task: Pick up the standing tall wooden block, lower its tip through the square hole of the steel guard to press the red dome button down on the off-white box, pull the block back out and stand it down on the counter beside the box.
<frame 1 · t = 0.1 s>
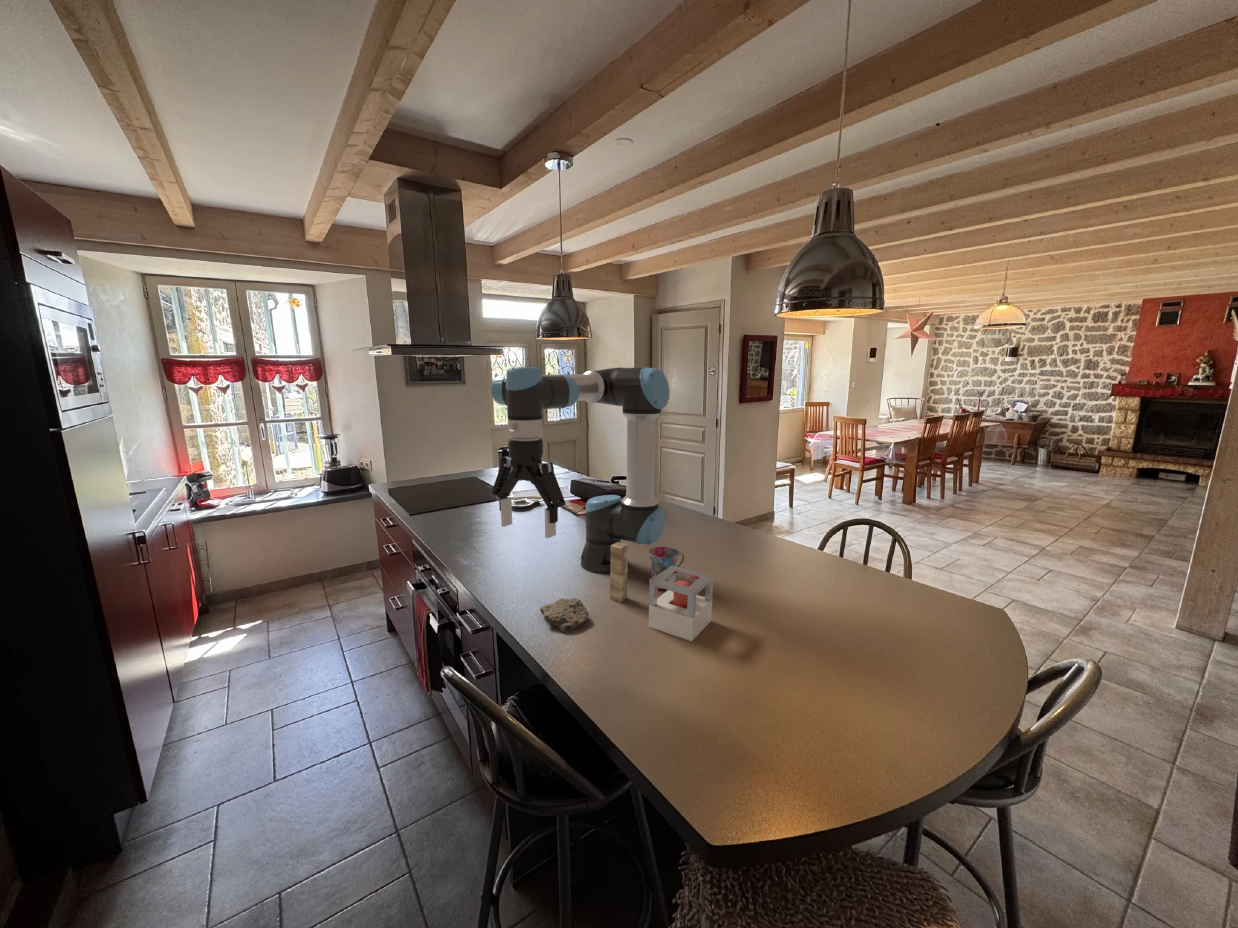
hand: (528, 530, 112), 28 cm above the kitchen island, fingers open, 13 cm apart
red dome button: (681, 597, 125), point 7 cm above the kitchen island, slide at 0.0 cm
rock: (564, 621, 128), on the kitchen island
tall wooden block: (618, 598, 140), on the kitchen island
mug: (666, 584, 150), on the kitchen island
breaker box: (680, 623, 127), on the kitchen island
guard: (681, 590, 125), on the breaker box, point 9 cm above the kitchen island
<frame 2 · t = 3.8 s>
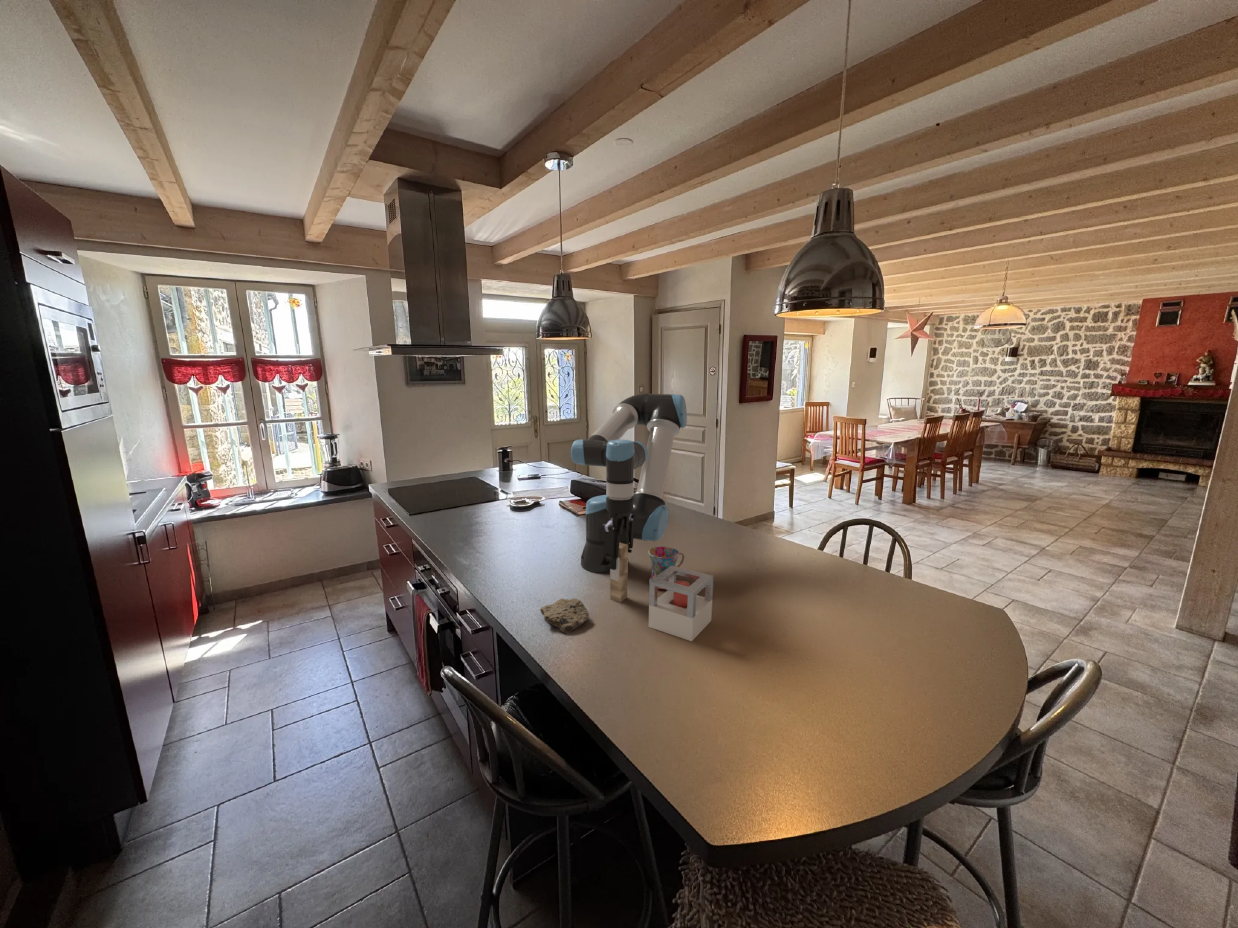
hand: (618, 576, 139), 7 cm above the kitchen island, fingers closed on tall wooden block, 3 cm apart
tall wooden block: (618, 598, 140), on the kitchen island, touching gripper
everything else where it was.
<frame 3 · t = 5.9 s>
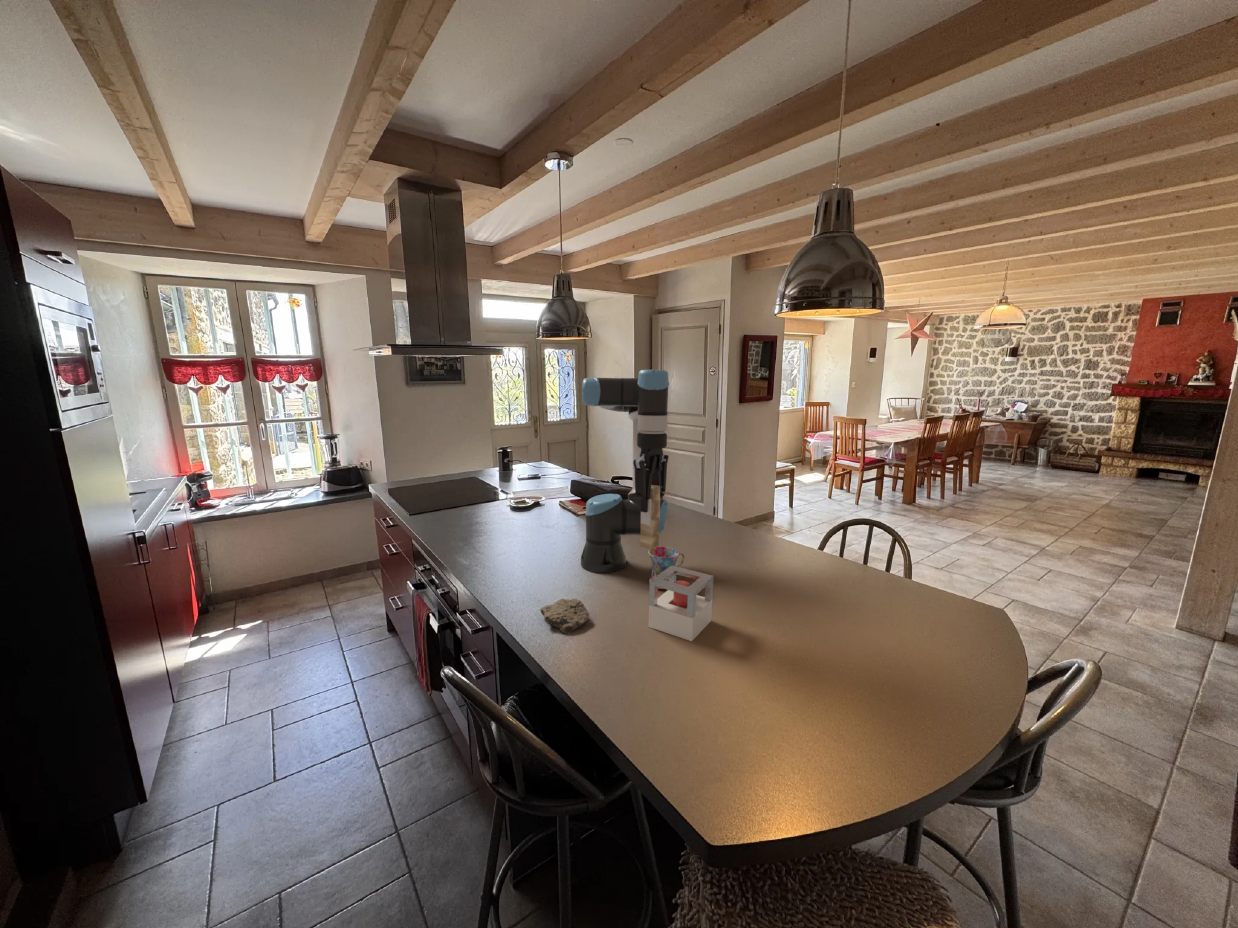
hand: (650, 521, 127), 25 cm above the kitchen island, fingers closed on tall wooden block, 3 cm apart
tall wooden block: (649, 546, 129), point 19 cm above the kitchen island, touching gripper
everything else where it was.
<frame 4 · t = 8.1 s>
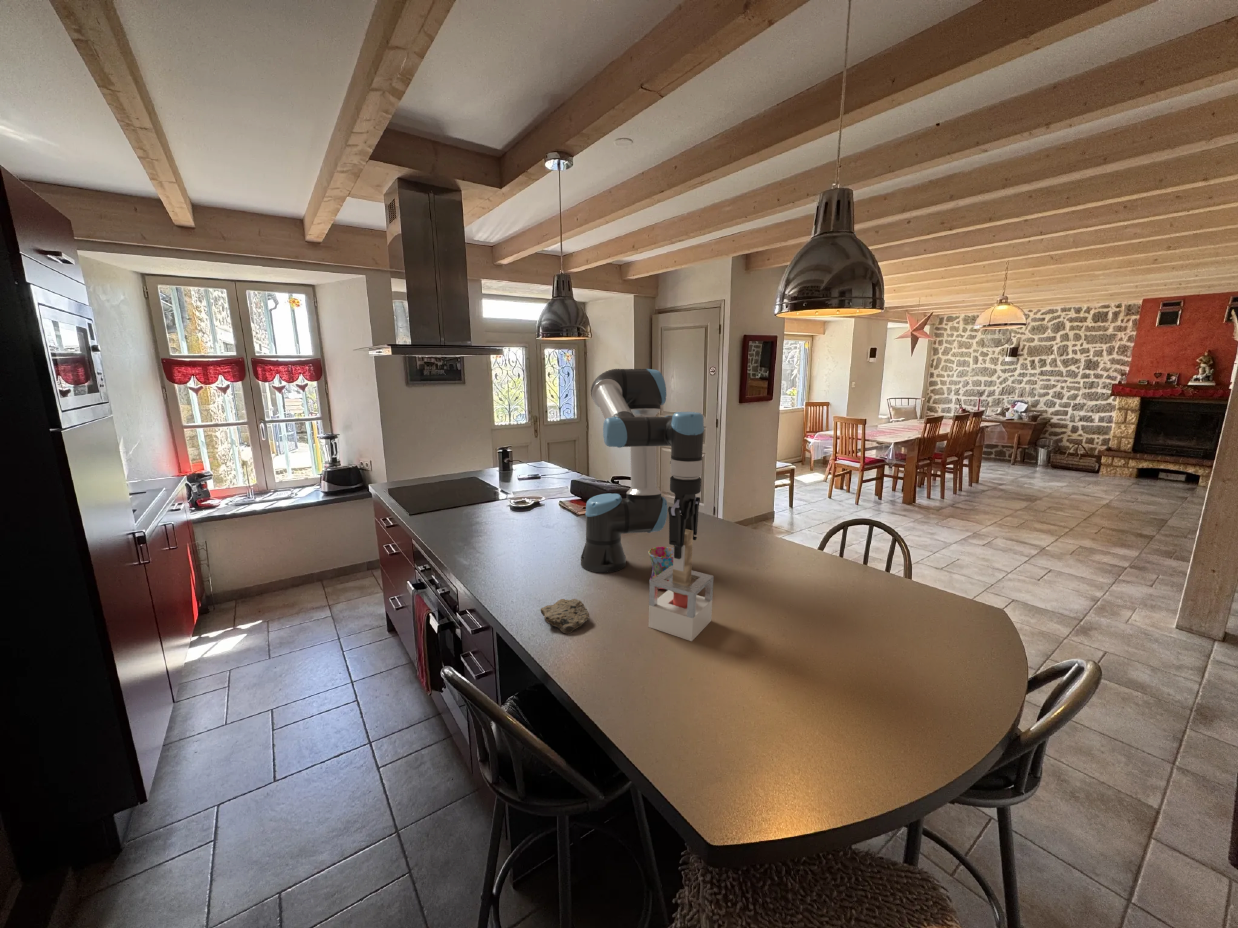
hand: (682, 566, 124), 16 cm above the kitchen island, fingers closed on tall wooden block, 3 cm apart
red dome button: (681, 604, 126), point 5 cm above the kitchen island, slide at 2.0 cm, touching tall wooden block
tall wooden block: (681, 591, 125), point 9 cm above the kitchen island, touching gripper, red dome button
everything else where it was.
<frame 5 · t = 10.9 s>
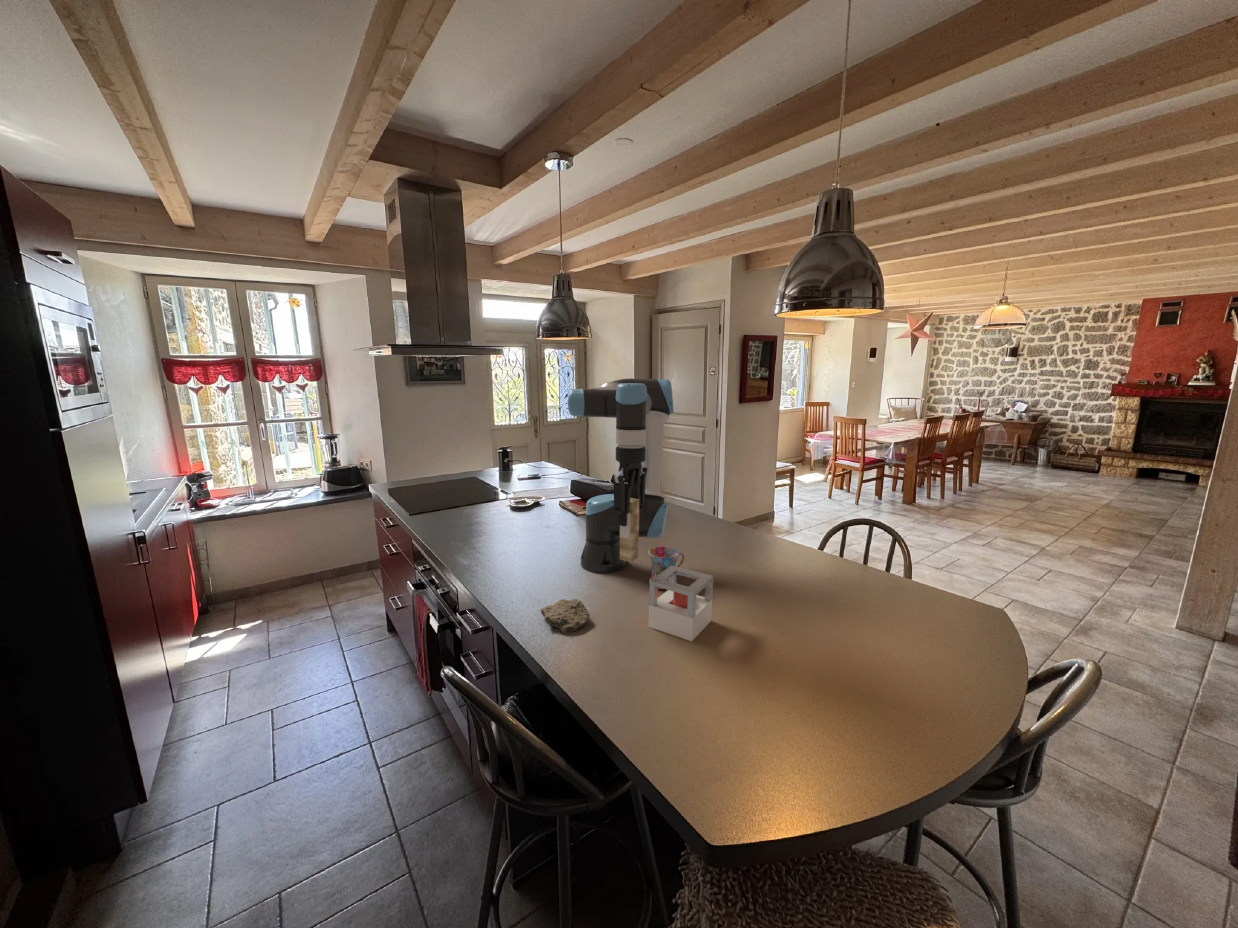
hand: (629, 534, 127), 22 cm above the kitchen island, fingers closed on tall wooden block, 3 cm apart
red dome button: (681, 604, 126), point 5 cm above the kitchen island, slide at 2.0 cm
tall wooden block: (628, 558, 129), point 16 cm above the kitchen island, touching gripper
everything else where it was.
when the fingers open (8 cm above the kitchen island, at t = 13.6 s): tall wooden block drops 1 cm, on the kitchen island.
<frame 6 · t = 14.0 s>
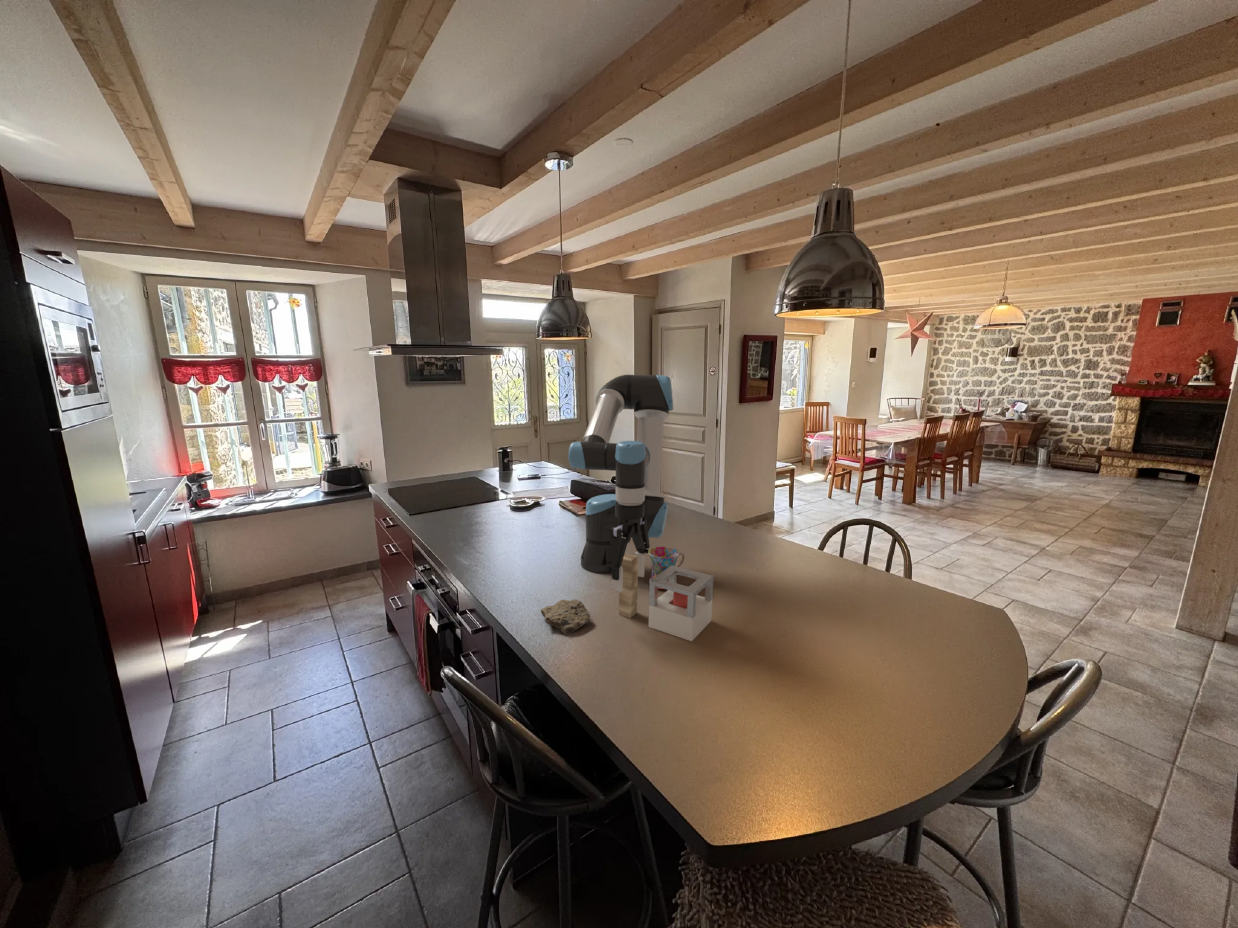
hand: (628, 582, 130), 9 cm above the kitchen island, fingers open, 10 cm apart
tall wooden block: (628, 613, 132), on the kitchen island
everything else where it was.
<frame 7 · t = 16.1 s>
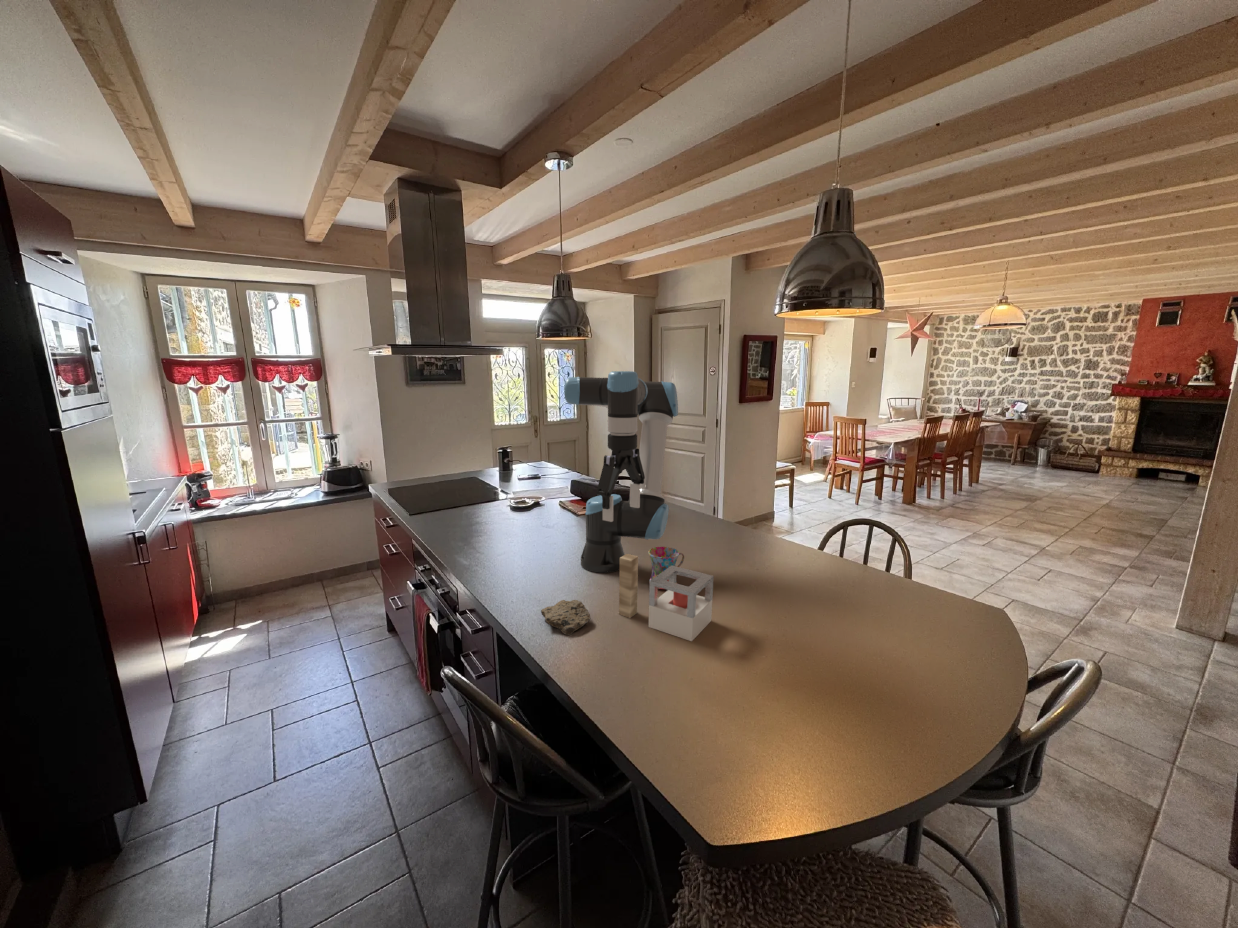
hand: (621, 513, 129), 27 cm above the kitchen island, fingers open, 13 cm apart
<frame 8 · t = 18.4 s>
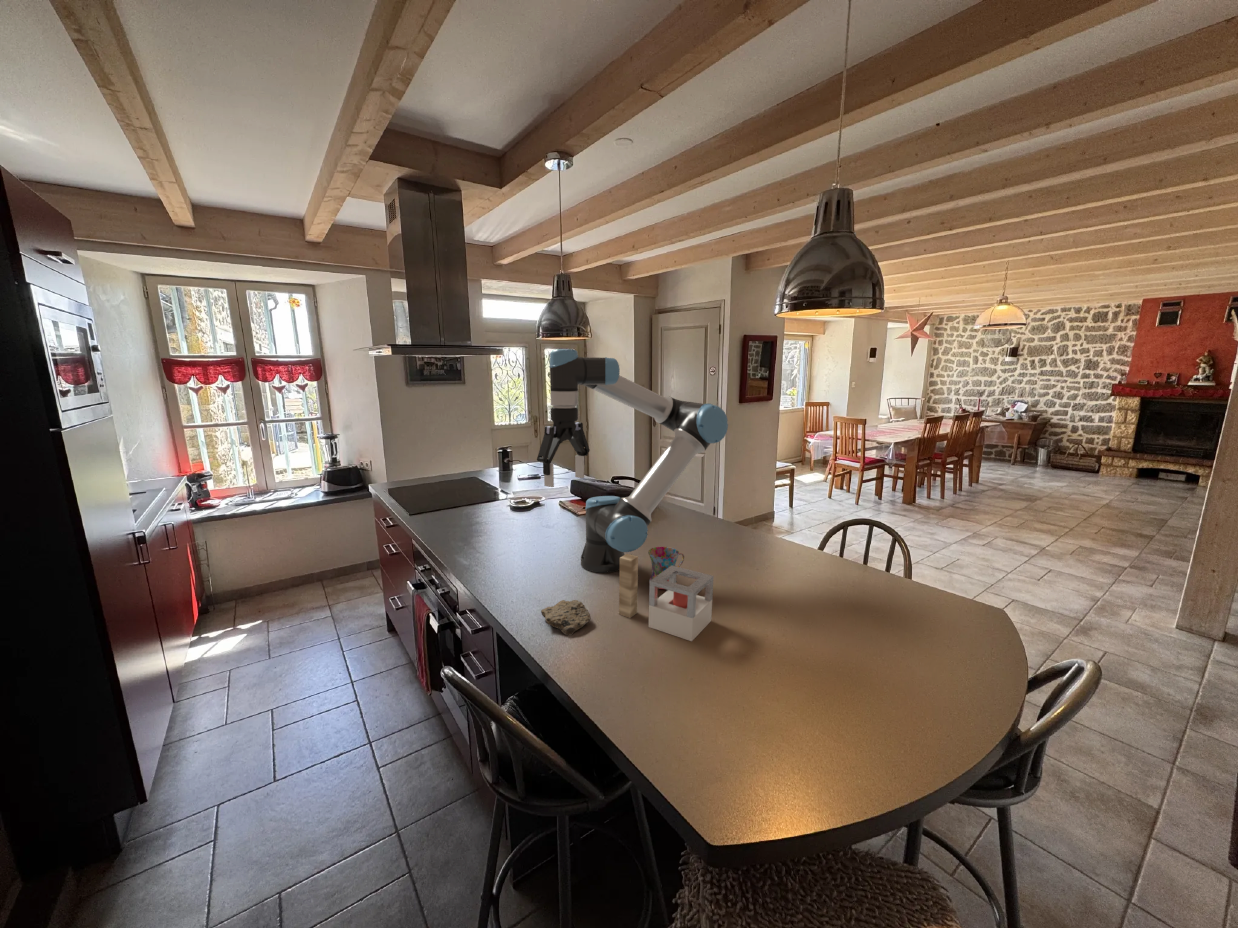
hand: (565, 481, 139), 33 cm above the kitchen island, fingers open, 13 cm apart
at the end: red dome button slide at 2.0 cm; tall wooden block inside the target area (0.0 cm from its centre), on the kitchen island; the gripper is holding nothing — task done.
